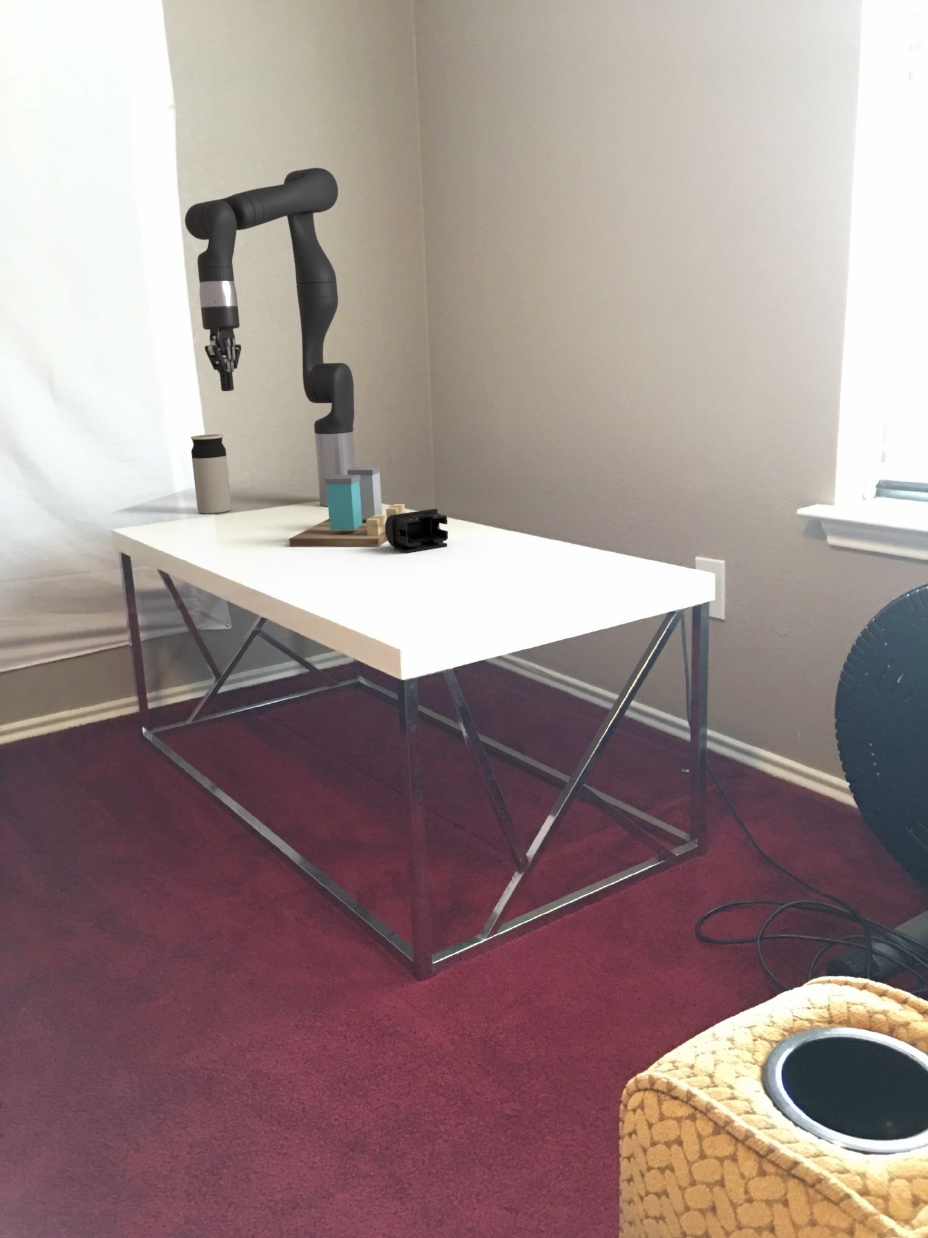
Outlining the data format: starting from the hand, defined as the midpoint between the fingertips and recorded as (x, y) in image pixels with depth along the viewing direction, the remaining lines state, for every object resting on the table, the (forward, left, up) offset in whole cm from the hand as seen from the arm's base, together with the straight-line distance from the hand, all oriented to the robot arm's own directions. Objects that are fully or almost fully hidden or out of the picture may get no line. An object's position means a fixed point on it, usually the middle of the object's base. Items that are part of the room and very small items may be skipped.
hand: (227, 390), depth 218 cm
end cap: (+22, +46, -29) cm, 59 cm away
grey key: (+2, +30, -27) cm, 40 cm away
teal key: (+15, +29, -27) cm, 42 cm away
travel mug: (-20, -16, -29) cm, 39 cm away
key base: (+9, +29, -29) cm, 42 cm away
